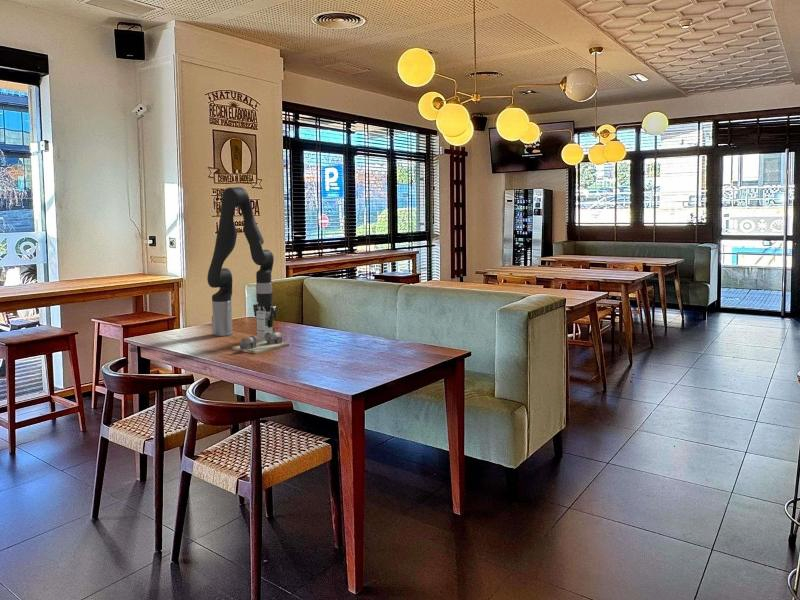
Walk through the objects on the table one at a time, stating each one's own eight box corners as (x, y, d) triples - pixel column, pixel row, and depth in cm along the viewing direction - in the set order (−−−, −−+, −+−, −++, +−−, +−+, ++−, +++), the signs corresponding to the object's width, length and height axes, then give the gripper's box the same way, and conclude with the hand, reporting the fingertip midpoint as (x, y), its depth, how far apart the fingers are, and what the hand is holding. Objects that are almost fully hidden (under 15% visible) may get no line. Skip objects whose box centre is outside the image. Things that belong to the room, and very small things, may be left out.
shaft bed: (231, 349, 281) (231, 335, 280) (266, 341, 297) (266, 328, 296) (255, 354, 271) (255, 340, 271) (290, 345, 288) (290, 332, 287)
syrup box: (265, 341, 297) (264, 311, 295) (257, 340, 300) (256, 310, 298) (274, 339, 301) (273, 310, 299) (266, 338, 305) (265, 308, 303)
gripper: (248, 291, 299) (249, 326, 301) (268, 293, 290) (269, 329, 293) (260, 290, 305) (261, 324, 307) (280, 292, 296) (281, 327, 299)
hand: (265, 326), depth 300 cm, fingers closed on syrup box, 6 cm apart
